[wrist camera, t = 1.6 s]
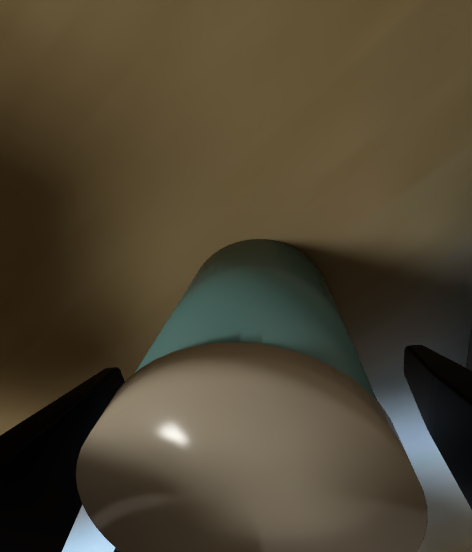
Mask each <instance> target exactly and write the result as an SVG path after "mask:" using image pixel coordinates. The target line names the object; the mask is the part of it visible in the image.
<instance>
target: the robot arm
mask: <svg viewBox="0 0 472 552" xmlns="http://www.w3.org/2000/svg"><path fill="white" fill-rule="evenodd" d="M404 374H405V377H406V380H407V382H408V385H409V387H410V389H411V392H412V394H413V396H414V399H415V401H416V404H417V406H418V408H419V411H420V413H421V416H422V418H423V420H424V422H425V425H426V427H427V429H428V431H429V433H430V435H431V437H432V439H433V440H434V442H435V444H436V446H437V448H438V449H439V451H440V453H441V455H442V457H443V459H444V460H445V462H446V464H447V466H448V468H449V469H450V471H451V473H452V475H453V477H454V478H455V480H456V482H457V484H458V486H459V487H460V489H461V491H462V493H463V495H464V496H465V498H466V500H467V502H468V504H469V506H470V507H471V509H472V371H471V370H469V369H467V368H465V367H463V366H462V365H460V364H458V363H456V362H454V361H452V360H450V359H448V358H446V357H444V356H442V355H440V354H438V353H437V352H435V351H433V350H431V349H429V348H427V347H425V346H423V345H410V346H407V347H406V348H405V352H404ZM124 383H125V381H124V378H123V376H122V373H121V371H120V369H119V368H117V367H114V368H106V369H104V370H102V371H101V372H99V373H98V374H96V375H94V376H93V377H91V378H90V379H88V380H87V381H85V382H83V383H82V384H80V385H79V386H77V387H76V388H74V389H73V390H71V391H69V392H68V393H66V394H65V395H63V396H62V397H60V398H58V399H57V400H55V401H54V402H52V403H51V404H49V405H48V406H46V407H44V408H43V409H41V410H40V411H38V412H37V413H35V414H33V415H32V416H30V417H29V418H27V419H26V420H24V421H22V422H21V423H19V424H18V425H16V426H15V427H13V428H12V429H10V430H8V431H7V432H5V433H4V434H2V435H1V436H0V552H62V549H63V547H64V545H65V543H66V540H67V538H68V536H69V534H70V531H71V529H72V527H73V524H74V522H75V520H76V518H77V515H78V513H79V511H80V509H81V506H82V502H81V499H80V496H79V492H78V489H77V481H76V468H77V460H78V457H79V454H80V451H81V448H82V446H83V444H84V443H85V441H86V439H87V437H88V435H89V434H90V432H91V431H92V429H93V428H94V426H95V425H96V423H97V422H98V420H99V419H100V417H101V415H102V414H103V412H104V411H105V409H106V408H107V406H108V405H109V403H110V402H111V400H112V399H113V397H114V396H115V394H116V392H117V391H118V390H119V388H120V387H121V386H122V385H123V384H124ZM114 552H120V551H119V550H118V549H117V548H115V550H114Z"/></svg>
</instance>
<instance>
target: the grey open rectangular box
mask: <svg viewBox="0 0 472 552" xmlns="http://www.w3.org/2000/svg"><path fill="white" fill-rule="evenodd" d="M466 368H467V369H469V370H471V371H472V331H471V338H470V345H469V352H468V359H467V366H466Z"/></svg>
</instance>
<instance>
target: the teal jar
mask: <svg viewBox="0 0 472 552" xmlns="http://www.w3.org/2000/svg"><path fill="white" fill-rule="evenodd" d="M76 481H77V489H78V492H79V496H80V499H81V502H82V504H83V506H84V508H85V510H86V512H87V514H88V516H89V517H90V519H91V520H92V522H93V523H94V525H95V526H96V528H97V529H98V530H99V531H100V532H101V533H102V534H103V536H104V537H105V538H106V539H107V540H108V541H109V542H110V543H111V544H112V545H114V546H115V547H116V548H117V549H118V550H119V551H120V552H417V551H418V549H419V547H420V545H421V543H422V541H423V539H424V536H425V531H426V527H427V504H426V500H425V496H424V492H423V489H422V487H421V485H420V483H419V480H418V478H417V476H416V474H415V472H414V469H413V467H412V465H411V463H410V461H409V458H408V456H407V454H406V452H405V449H404V447H403V445H402V443H401V441H400V438H399V436H398V434H397V432H396V430H395V428H394V426H393V423H392V421H391V419H390V418H389V416H388V415H387V413H386V412H385V410H384V409H383V408H382V406H381V405H380V403H379V402H378V401H377V399H376V397H375V395H374V392H373V390H372V388H371V385H370V383H369V381H368V378H367V376H366V374H365V371H364V369H363V367H362V364H361V362H360V360H359V358H358V355H357V353H356V351H355V348H354V346H353V344H352V341H351V339H350V337H349V334H348V332H347V330H346V327H345V325H344V323H343V320H342V318H341V316H340V313H339V311H338V309H337V306H336V304H335V302H334V299H333V297H332V295H331V292H330V290H329V288H328V285H327V283H326V281H325V279H324V277H323V275H322V273H321V271H320V270H319V269H318V267H317V266H316V265H315V264H314V262H313V261H312V260H311V259H310V258H308V257H307V256H306V255H305V254H304V253H302V252H300V251H299V250H297V249H296V248H293V247H291V246H289V245H287V244H284V243H281V242H278V241H272V240H265V239H252V240H245V241H240V242H236V243H233V244H230V245H228V246H226V247H224V248H222V249H220V250H219V251H217V252H216V253H214V254H213V255H212V256H211V257H210V258H209V259H208V260H206V262H205V263H204V264H203V265H202V267H201V268H200V270H199V271H198V273H197V274H196V276H195V278H194V279H193V281H192V282H191V284H190V286H189V287H188V289H187V290H186V292H185V294H184V295H183V297H182V298H181V300H180V302H179V303H178V305H177V306H176V308H175V310H174V311H173V313H172V314H171V316H170V318H169V319H168V321H167V322H166V324H165V326H164V327H163V329H162V330H161V332H160V334H159V335H158V337H157V338H156V340H155V341H154V343H153V345H152V346H151V348H150V349H149V351H148V353H147V354H146V356H145V357H144V359H143V361H142V362H141V364H140V365H139V367H138V369H137V370H136V372H135V373H134V374H133V375H132V376H130V377H129V378H128V379H127V380H126V381H125V383H124V384H123V385H122V386H121V387H120V388H119V390H118V391H117V392H116V394H115V396H114V397H113V399H112V400H111V402H110V403H109V405H108V406H107V408H106V409H105V411H104V412H103V414H102V415H101V417H100V419H99V420H98V422H97V423H96V425H95V426H94V428H93V429H92V431H91V432H90V434H89V435H88V437H87V439H86V441H85V443H84V444H83V446H82V448H81V451H80V454H79V457H78V460H77V468H76Z"/></svg>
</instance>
